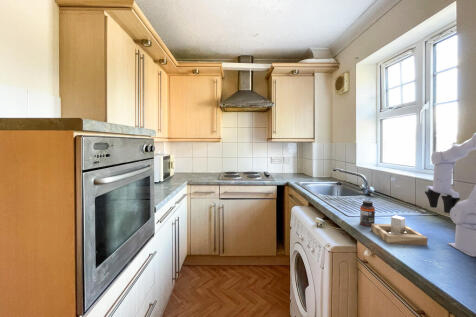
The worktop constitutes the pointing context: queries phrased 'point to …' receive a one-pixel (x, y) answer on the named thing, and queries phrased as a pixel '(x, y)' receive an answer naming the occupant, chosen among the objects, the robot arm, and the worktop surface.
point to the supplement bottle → (367, 213)
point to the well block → (399, 235)
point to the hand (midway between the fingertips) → (440, 210)
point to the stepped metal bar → (397, 225)
